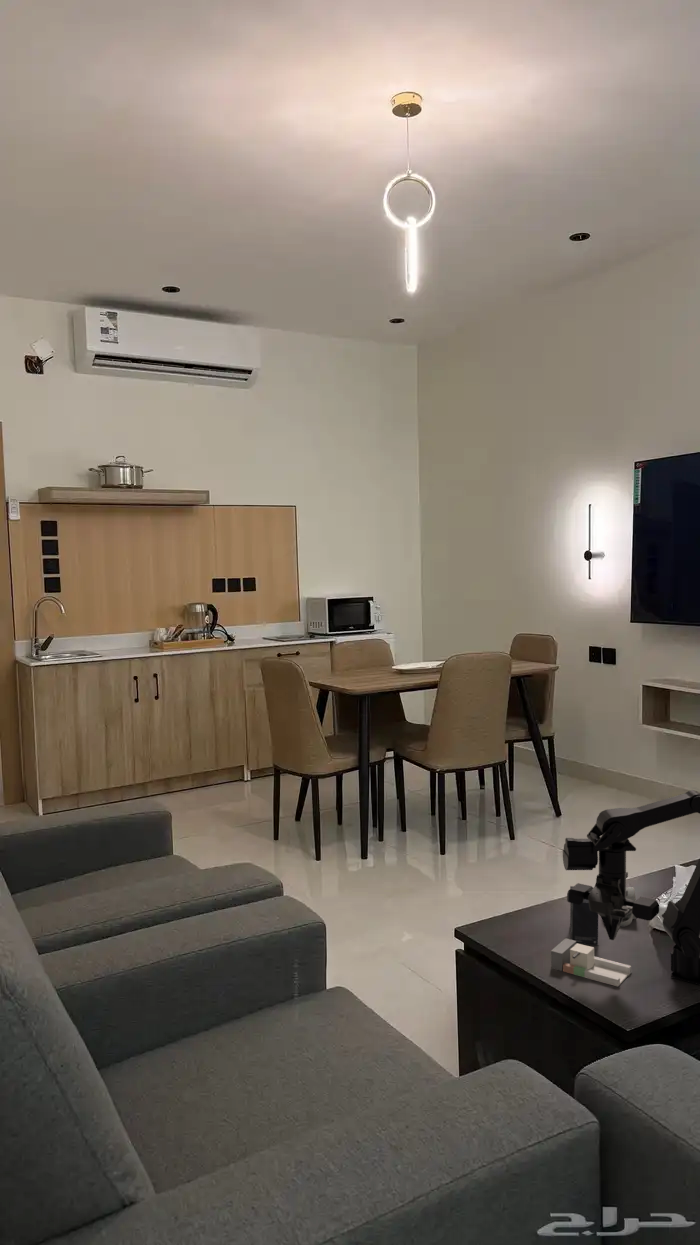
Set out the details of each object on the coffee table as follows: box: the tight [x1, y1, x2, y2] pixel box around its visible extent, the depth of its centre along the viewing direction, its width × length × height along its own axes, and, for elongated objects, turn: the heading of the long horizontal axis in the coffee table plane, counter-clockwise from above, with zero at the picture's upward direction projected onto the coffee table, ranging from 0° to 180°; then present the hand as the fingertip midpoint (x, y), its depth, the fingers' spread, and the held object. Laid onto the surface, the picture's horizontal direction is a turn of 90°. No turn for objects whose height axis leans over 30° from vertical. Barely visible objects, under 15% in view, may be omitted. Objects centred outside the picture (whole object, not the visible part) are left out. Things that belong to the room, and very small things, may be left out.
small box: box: [569, 885, 599, 946], centre depth 212 cm, size 11×6×10 cm, turn 168°
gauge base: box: [550, 937, 632, 988], centre depth 194 cm, size 15×8×4 cm, turn 53°
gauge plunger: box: [570, 943, 595, 969], centre depth 194 cm, size 4×7×4 cm, turn 143°
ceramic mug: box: [620, 886, 637, 927], centre depth 222 cm, size 11×8×8 cm
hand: (612, 939), depth 191 cm, fingers closed
